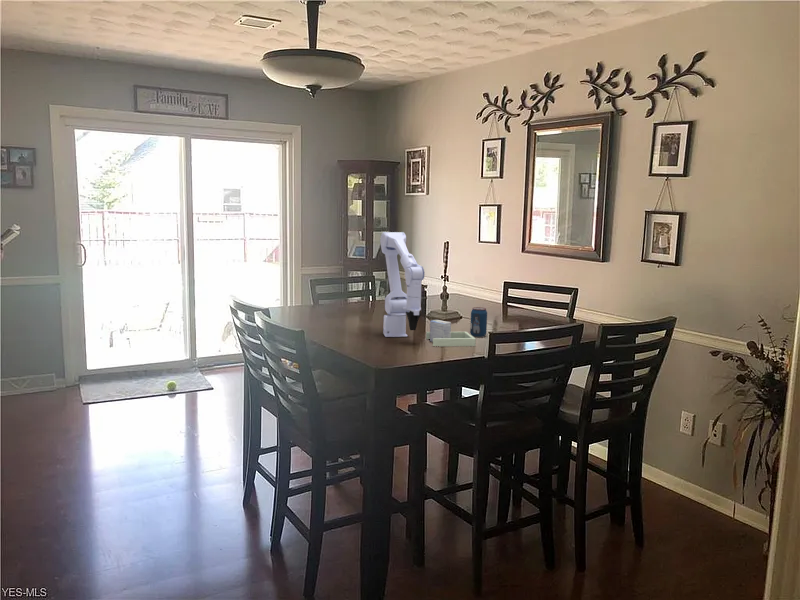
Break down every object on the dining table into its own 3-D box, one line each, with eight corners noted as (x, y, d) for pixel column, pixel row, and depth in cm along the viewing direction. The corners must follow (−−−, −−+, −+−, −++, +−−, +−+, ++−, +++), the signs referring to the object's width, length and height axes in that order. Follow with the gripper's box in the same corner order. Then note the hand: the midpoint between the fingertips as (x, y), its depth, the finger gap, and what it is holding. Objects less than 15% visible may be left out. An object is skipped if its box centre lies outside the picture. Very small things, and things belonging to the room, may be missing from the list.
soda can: (483, 334, 277) (484, 307, 276) (488, 337, 270) (489, 309, 269) (468, 334, 276) (469, 307, 274) (472, 337, 269) (473, 309, 268)
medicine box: (450, 343, 257) (451, 322, 255) (443, 344, 254) (443, 323, 252) (436, 340, 262) (437, 319, 261) (429, 341, 259) (429, 320, 258)
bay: (433, 346, 250) (433, 339, 249) (426, 338, 264) (426, 331, 263) (475, 346, 252) (475, 338, 252) (466, 338, 267) (466, 331, 266)
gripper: (401, 293, 259) (400, 326, 261) (406, 299, 245) (405, 333, 247) (418, 293, 261) (416, 326, 263) (424, 299, 246) (423, 333, 248)
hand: (412, 329), depth 255 cm, fingers closed
